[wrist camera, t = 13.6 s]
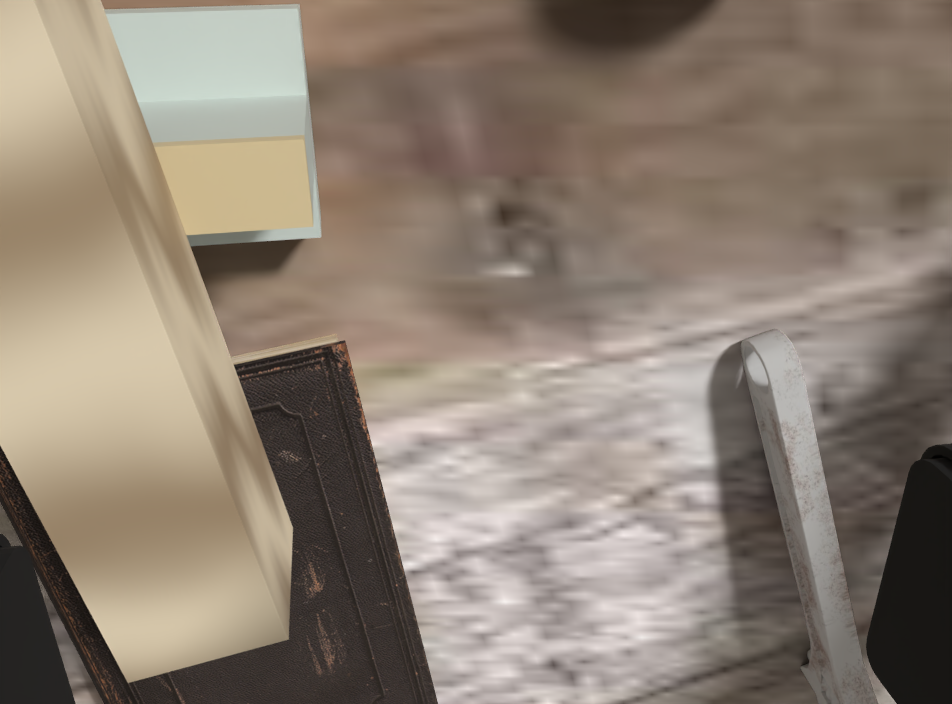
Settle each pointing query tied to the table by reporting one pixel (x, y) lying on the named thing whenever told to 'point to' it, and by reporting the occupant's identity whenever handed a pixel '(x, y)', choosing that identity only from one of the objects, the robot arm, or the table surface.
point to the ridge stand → (227, 116)
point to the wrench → (806, 518)
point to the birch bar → (123, 365)
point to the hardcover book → (313, 557)
